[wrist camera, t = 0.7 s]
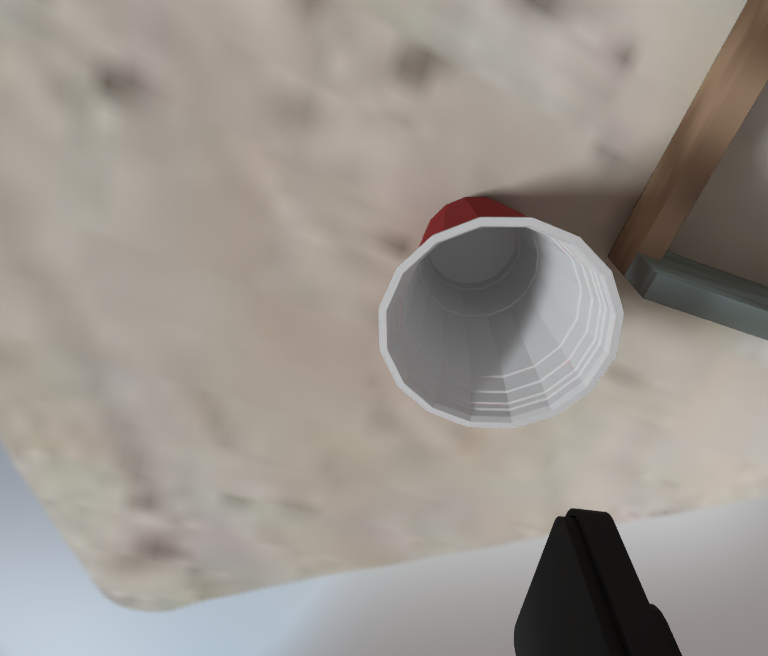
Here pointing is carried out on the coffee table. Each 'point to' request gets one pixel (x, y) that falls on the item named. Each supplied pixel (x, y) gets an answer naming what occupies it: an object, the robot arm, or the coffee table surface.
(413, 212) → the coffee table surface
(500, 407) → the plastic cup
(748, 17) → the frame
